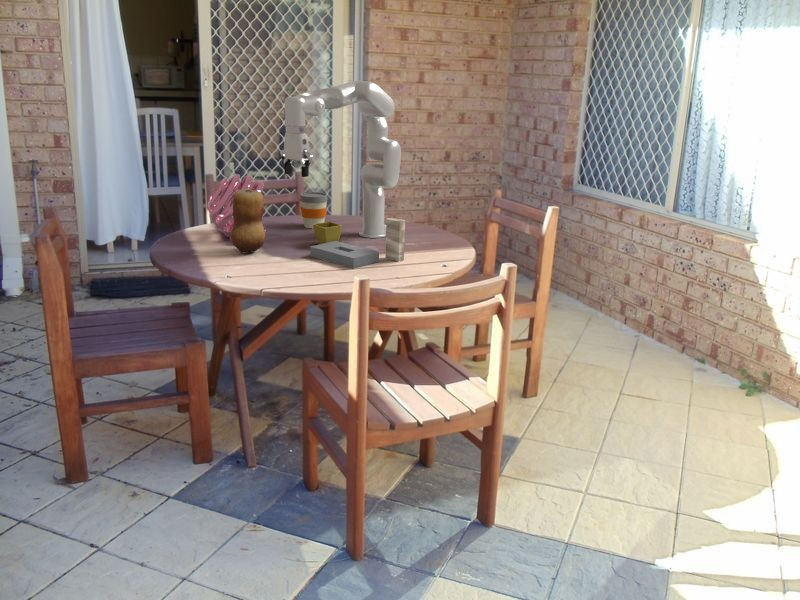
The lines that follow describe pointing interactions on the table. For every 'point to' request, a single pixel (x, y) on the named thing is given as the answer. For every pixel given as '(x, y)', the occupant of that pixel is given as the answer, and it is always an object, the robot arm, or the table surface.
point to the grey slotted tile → (344, 254)
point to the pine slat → (395, 239)
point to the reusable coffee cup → (313, 208)
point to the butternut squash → (248, 220)
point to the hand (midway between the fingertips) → (296, 175)
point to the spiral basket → (228, 209)
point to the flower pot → (327, 232)
